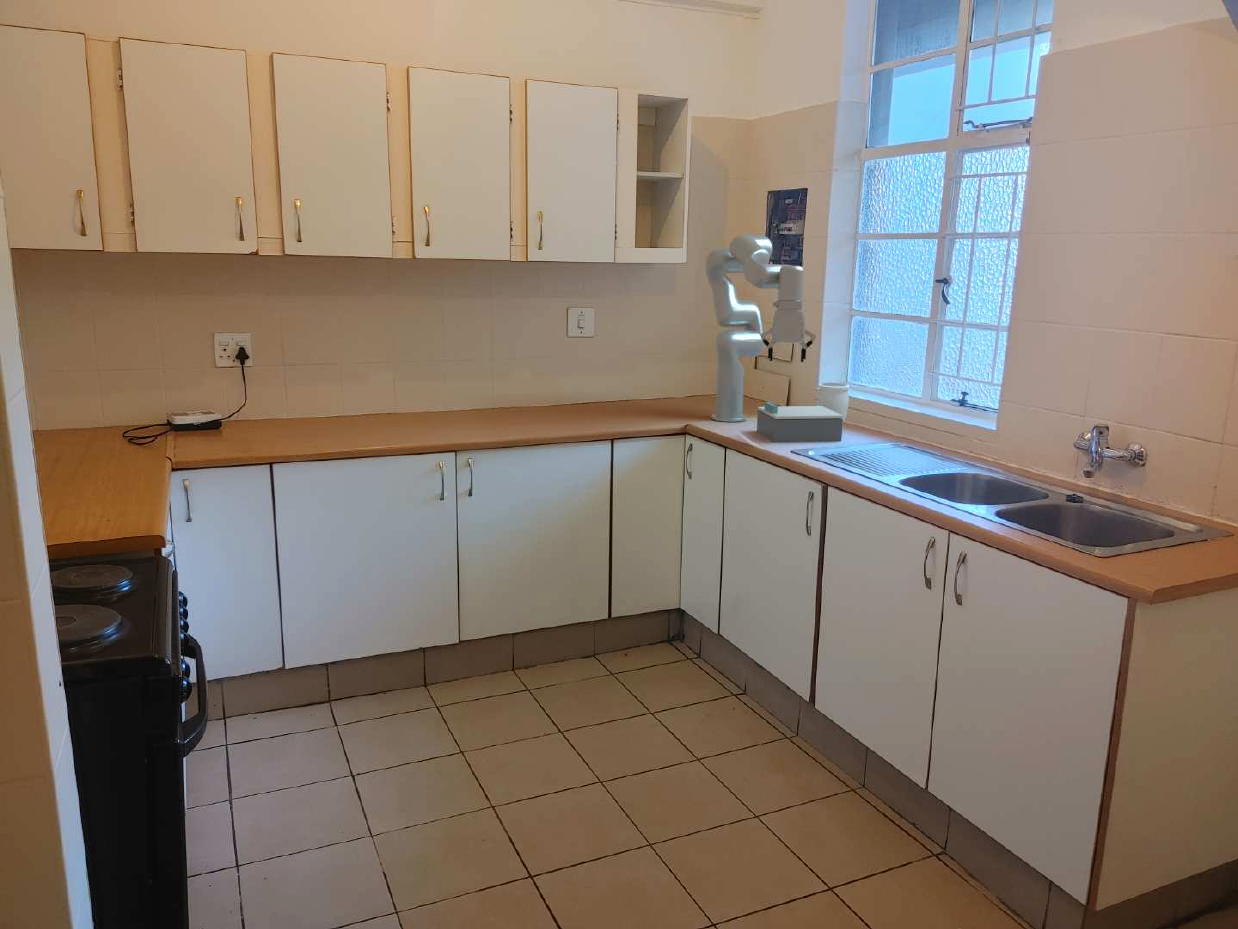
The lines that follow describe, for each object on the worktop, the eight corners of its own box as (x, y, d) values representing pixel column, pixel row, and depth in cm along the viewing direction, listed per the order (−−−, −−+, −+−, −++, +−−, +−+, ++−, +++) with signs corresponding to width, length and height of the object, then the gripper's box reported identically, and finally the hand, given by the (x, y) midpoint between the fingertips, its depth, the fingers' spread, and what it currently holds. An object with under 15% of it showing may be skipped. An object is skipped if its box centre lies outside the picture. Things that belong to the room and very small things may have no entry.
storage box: (756, 433, 303) (757, 410, 301) (820, 432, 306) (821, 409, 304) (773, 445, 285) (775, 420, 283) (841, 444, 289) (842, 419, 287)
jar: (847, 431, 309) (850, 387, 305) (815, 430, 311) (818, 386, 307) (846, 426, 319) (849, 383, 315) (815, 424, 321) (818, 381, 317)
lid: (757, 409, 301) (758, 399, 300) (821, 408, 304) (822, 398, 303) (775, 419, 283) (775, 408, 283) (842, 418, 287) (843, 408, 286)
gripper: (761, 306, 283) (758, 361, 287) (818, 307, 281) (814, 363, 284) (761, 304, 291) (759, 358, 294) (817, 306, 288) (813, 360, 292)
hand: (786, 361), depth 289 cm, fingers open, 9 cm apart
